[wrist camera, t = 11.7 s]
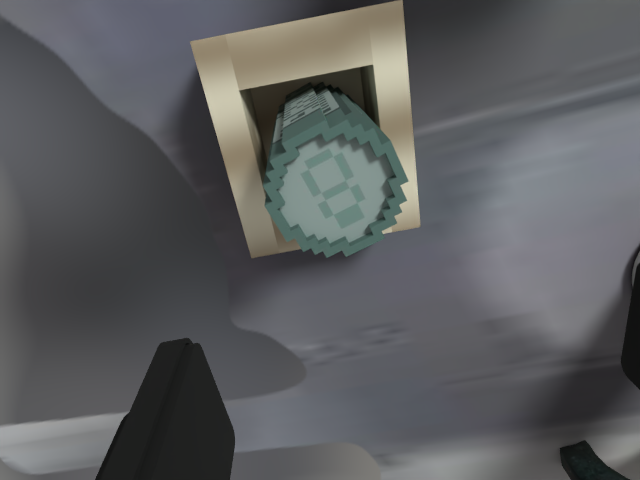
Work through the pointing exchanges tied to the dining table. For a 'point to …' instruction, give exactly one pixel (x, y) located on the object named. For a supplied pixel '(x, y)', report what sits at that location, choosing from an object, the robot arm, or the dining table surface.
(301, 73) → the well block
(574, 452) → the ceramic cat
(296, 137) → the can
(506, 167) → the dining table surface
